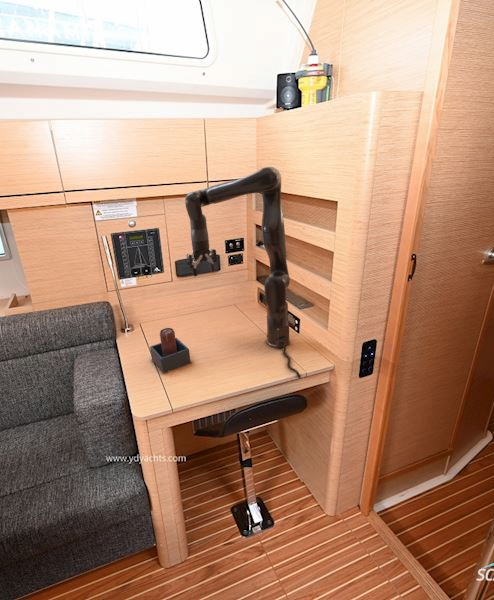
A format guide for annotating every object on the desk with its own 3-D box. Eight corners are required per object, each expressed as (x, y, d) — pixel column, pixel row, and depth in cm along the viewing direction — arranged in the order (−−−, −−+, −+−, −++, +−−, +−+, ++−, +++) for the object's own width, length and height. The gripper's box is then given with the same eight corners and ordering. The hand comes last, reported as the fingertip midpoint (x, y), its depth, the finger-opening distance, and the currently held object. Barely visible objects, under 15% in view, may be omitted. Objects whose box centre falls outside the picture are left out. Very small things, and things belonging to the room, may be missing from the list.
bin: (190, 362, 142) (189, 348, 140) (163, 373, 136) (160, 359, 134) (178, 350, 152) (176, 337, 150) (152, 360, 146) (149, 346, 144)
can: (164, 364, 140) (160, 335, 135) (163, 357, 146) (158, 328, 141) (179, 362, 142) (175, 332, 136) (177, 354, 147) (173, 326, 142)
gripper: (189, 242, 140) (193, 279, 146) (218, 237, 147) (221, 272, 153) (181, 240, 146) (185, 275, 152) (209, 235, 153) (212, 268, 159)
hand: (203, 273), depth 153 cm, fingers open, 8 cm apart
